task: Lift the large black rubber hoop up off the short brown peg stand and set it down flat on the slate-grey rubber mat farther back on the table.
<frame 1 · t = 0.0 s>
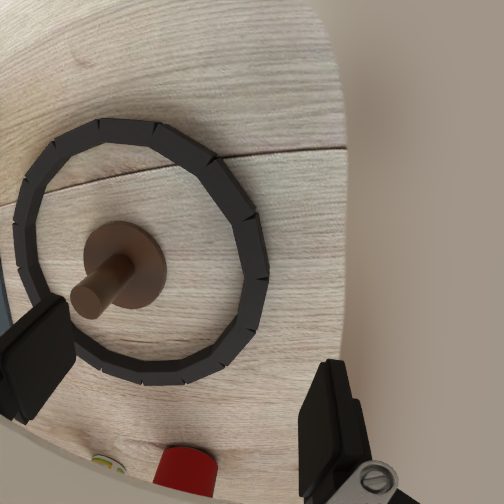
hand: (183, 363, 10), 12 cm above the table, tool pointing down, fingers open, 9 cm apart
brown peg stand: (124, 265, 23), on the table
supplement bottle: (110, 463, 36), on the table
ring: (124, 265, 23), on the table
beverage can: (191, 456, 32), on the table
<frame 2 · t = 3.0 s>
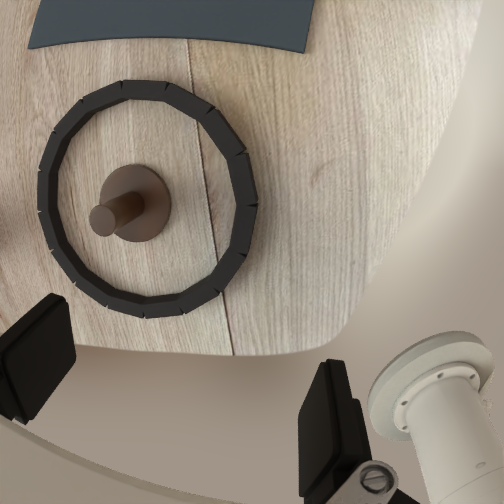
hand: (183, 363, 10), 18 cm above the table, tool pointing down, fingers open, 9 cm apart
brown peg stand: (135, 203, 27), on the table
ring: (135, 203, 27), on the table
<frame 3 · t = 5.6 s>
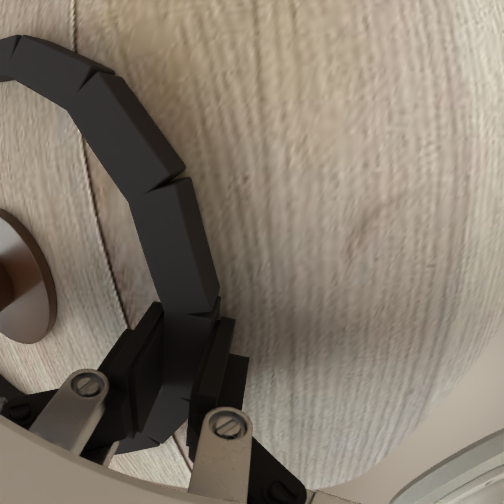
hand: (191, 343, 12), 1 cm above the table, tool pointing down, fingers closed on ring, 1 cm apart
brown peg stand: (5, 277, 12), on the table
ring: (5, 277, 12), on the table, touching gripper
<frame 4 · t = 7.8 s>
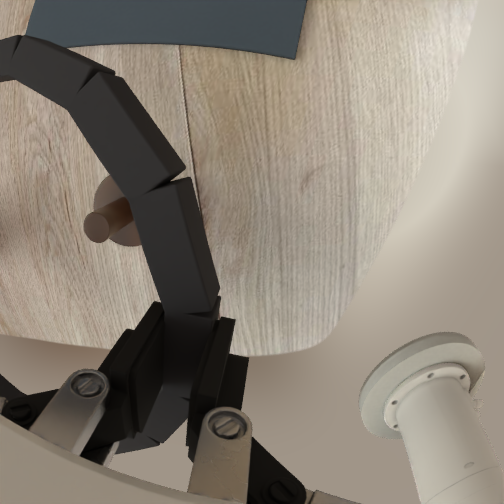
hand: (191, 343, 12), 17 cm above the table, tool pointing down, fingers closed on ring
brown peg stand: (128, 208, 28), on the table
ring: (6, 276, 12), point 16 cm above the table, touching gripper
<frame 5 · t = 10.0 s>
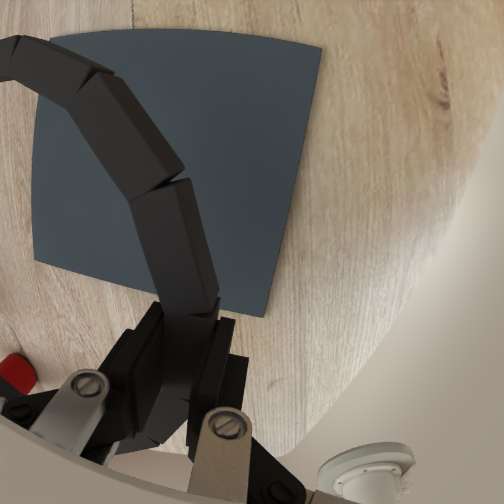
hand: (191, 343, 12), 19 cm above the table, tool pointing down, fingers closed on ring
mat: (142, 162, 28), on the table
ring: (5, 277, 12), point 18 cm above the table, touching gripper
beverage can: (24, 366, 41), on the table
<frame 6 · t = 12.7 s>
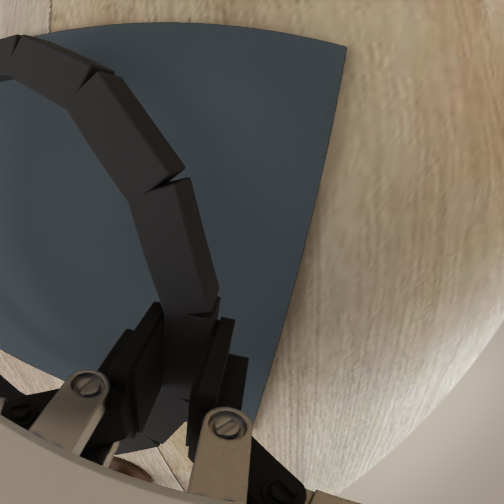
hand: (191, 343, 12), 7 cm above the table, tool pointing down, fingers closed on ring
brown peg stand: (124, 472, 28), on the table
mat: (69, 238, 18), on the table
ring: (5, 277, 12), point 6 cm above the table, touching gripper
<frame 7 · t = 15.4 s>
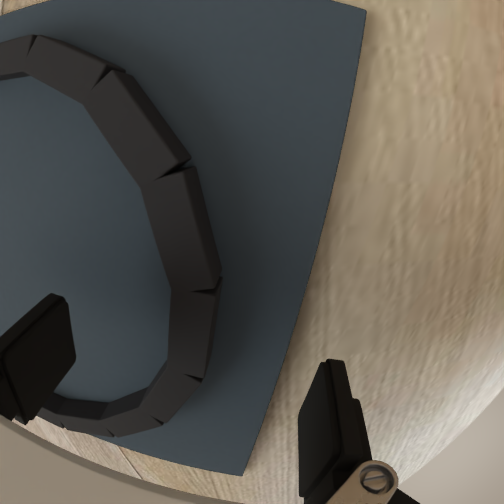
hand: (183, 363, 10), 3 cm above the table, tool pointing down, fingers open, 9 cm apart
mat: (23, 259, 14), on the table
ring: (16, 264, 13), point 1 cm above the table, touching mat
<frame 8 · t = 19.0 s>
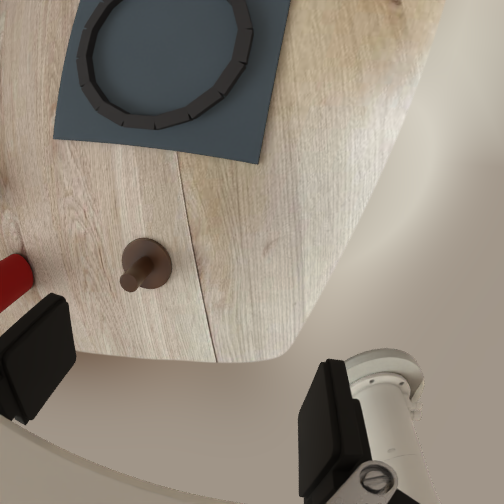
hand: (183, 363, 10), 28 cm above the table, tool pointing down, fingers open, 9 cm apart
brown peg stand: (147, 263, 41), on the table
mat: (161, 43, 31), on the table
ring: (159, 42, 30), point 1 cm above the table, touching mat
beverage can: (23, 270, 44), on the table
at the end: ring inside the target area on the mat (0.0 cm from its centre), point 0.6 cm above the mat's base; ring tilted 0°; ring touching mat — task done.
